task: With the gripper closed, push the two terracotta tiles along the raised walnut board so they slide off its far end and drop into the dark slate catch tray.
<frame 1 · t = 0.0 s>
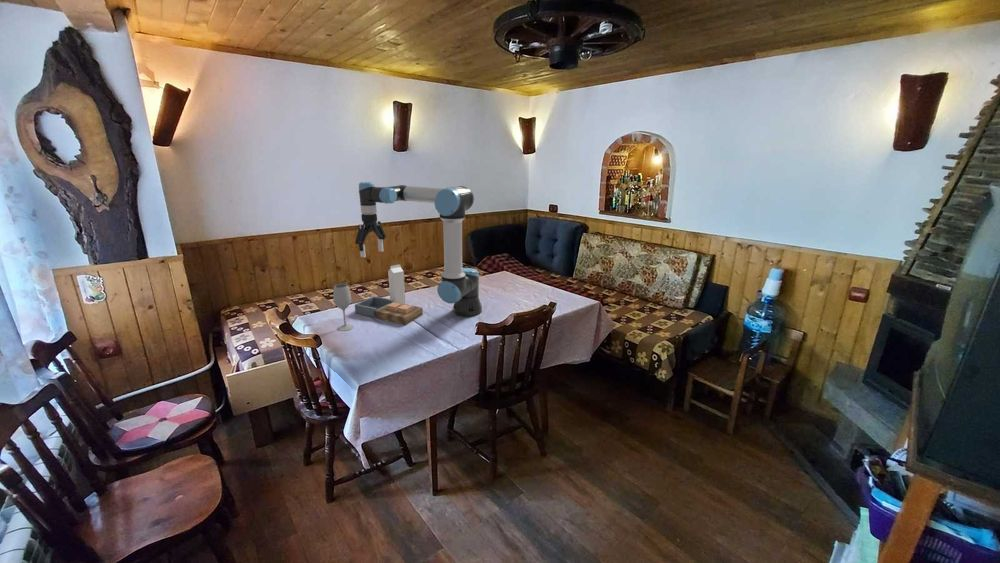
hand: (372, 254, 206), 28 cm above the table, fingers open, 13 cm apart
board: (399, 316, 198), on the table
catch tray: (374, 311, 204), on the table
tile 2: (405, 310, 196), point 4 cm above the table, touching board
milk: (398, 303, 215), on the table
tile 1: (394, 308, 198), point 4 cm above the table, touching board
wineglass: (345, 328, 185), on the table
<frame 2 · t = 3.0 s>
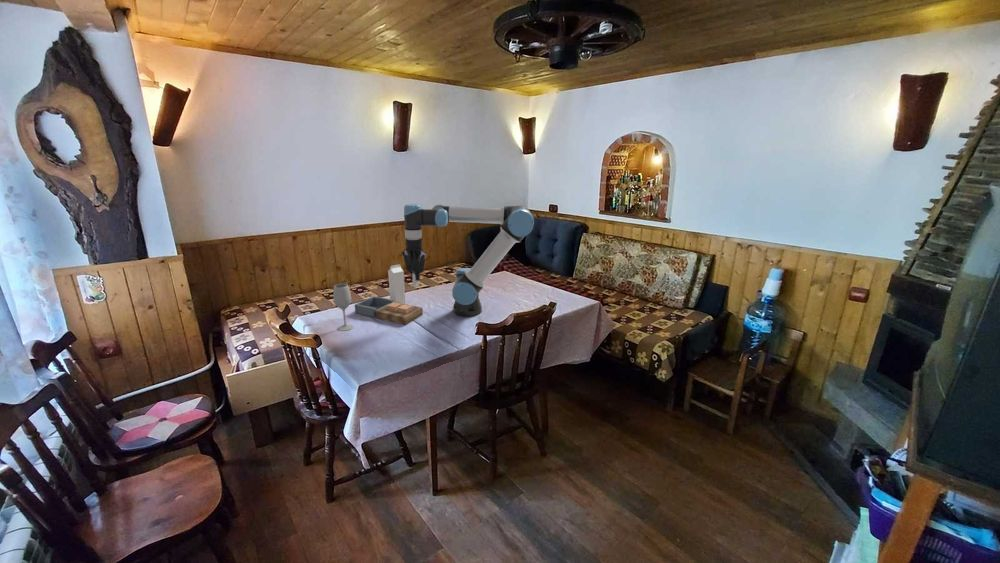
hand: (415, 286, 189), 18 cm above the table, fingers closed
nothing on the table moved.
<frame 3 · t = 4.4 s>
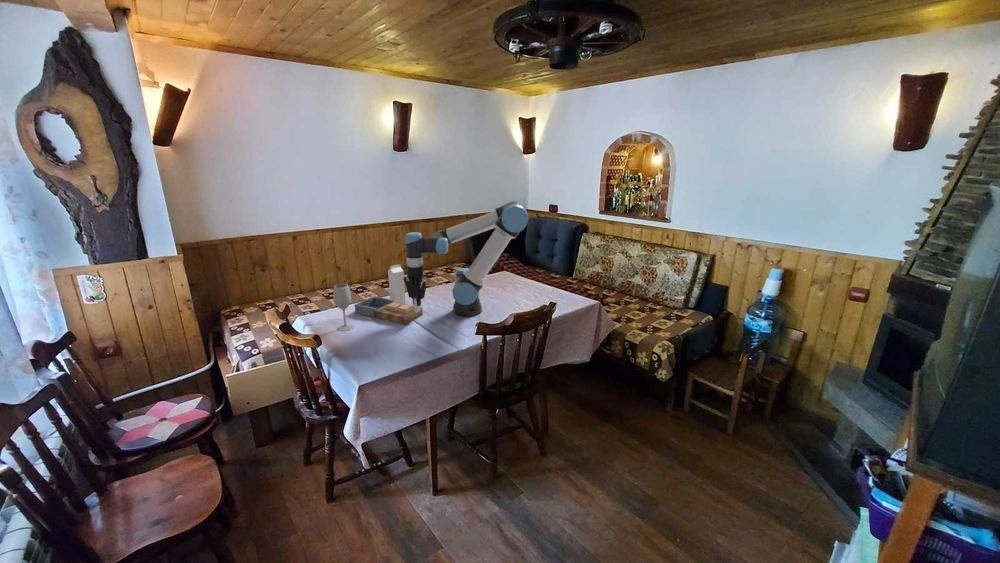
hand: (417, 311, 193), 5 cm above the table, fingers closed
nothing on the table moved.
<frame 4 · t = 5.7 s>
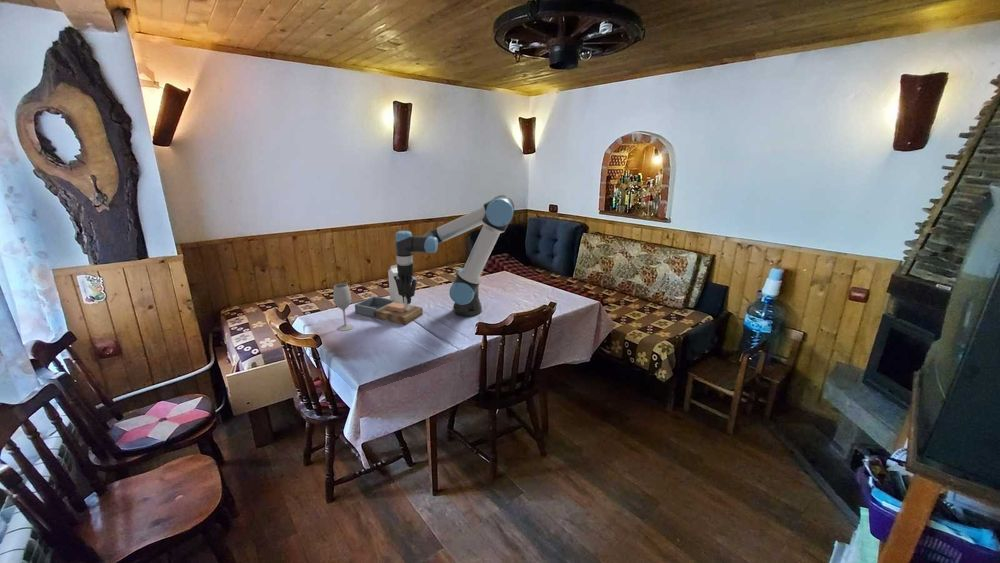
hand: (407, 309, 195), 5 cm above the table, fingers closed
tile 2: (402, 309, 196), point 4 cm above the table, touching gripper, tile 1
tile 1: (394, 308, 198), point 4 cm above the table, touching tile 2
everything else where it was.
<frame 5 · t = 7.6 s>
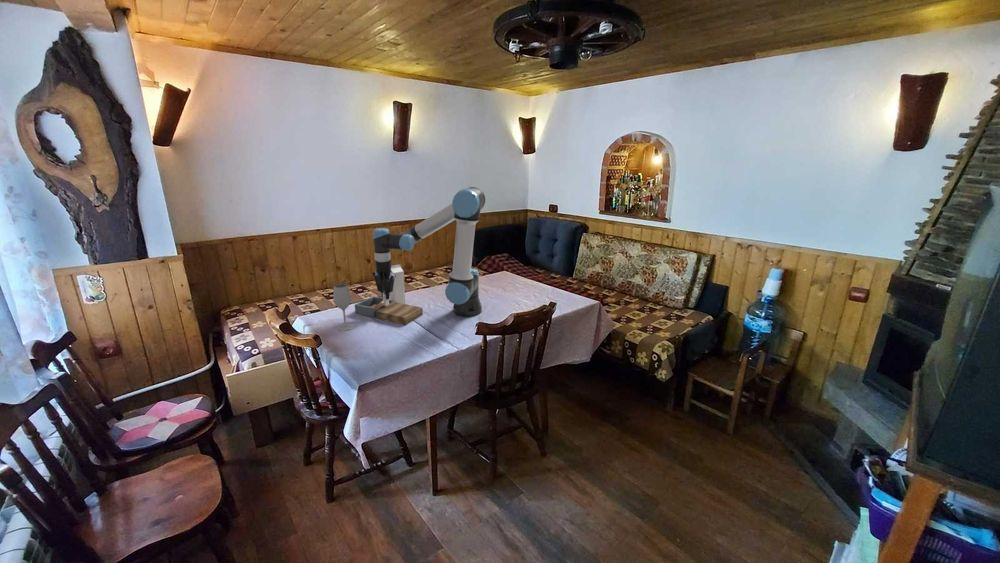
hand: (386, 304, 200), 5 cm above the table, fingers closed
tile 2: (382, 306, 201), point 4 cm above the table, tilted 43°, touching gripper, tile 1
tile 1: (375, 306, 204), point 3 cm above the table, tilted 180°, touching catch tray, tile 2
everything else where it was.
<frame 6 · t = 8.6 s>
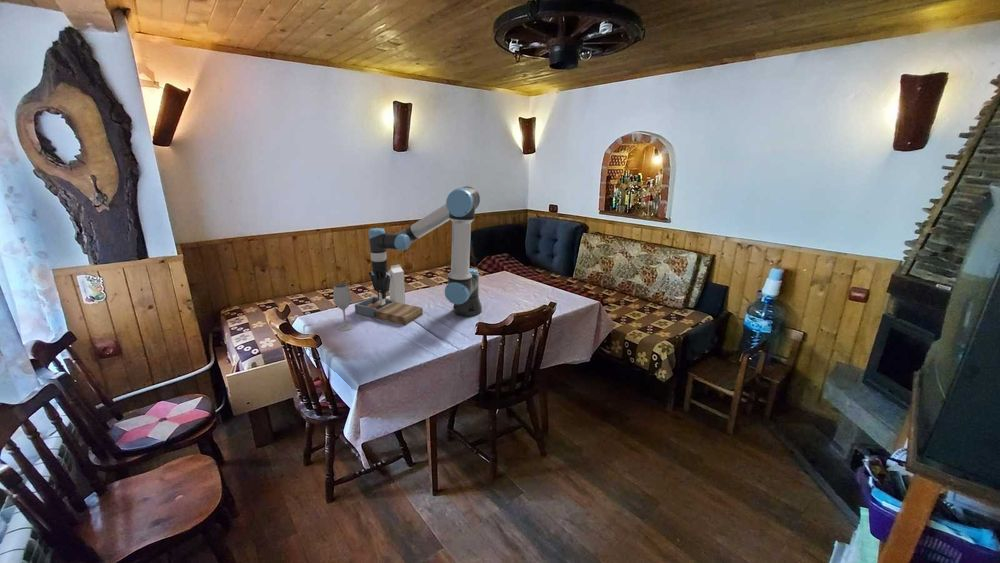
hand: (382, 304, 201), 5 cm above the table, fingers closed
tile 2: (378, 306, 202), point 3 cm above the table, tilted 40°, touching gripper, tile 1
tile 1: (371, 305, 205), point 3 cm above the table, tilted 180°, touching catch tray, tile 2
everything else where it was.
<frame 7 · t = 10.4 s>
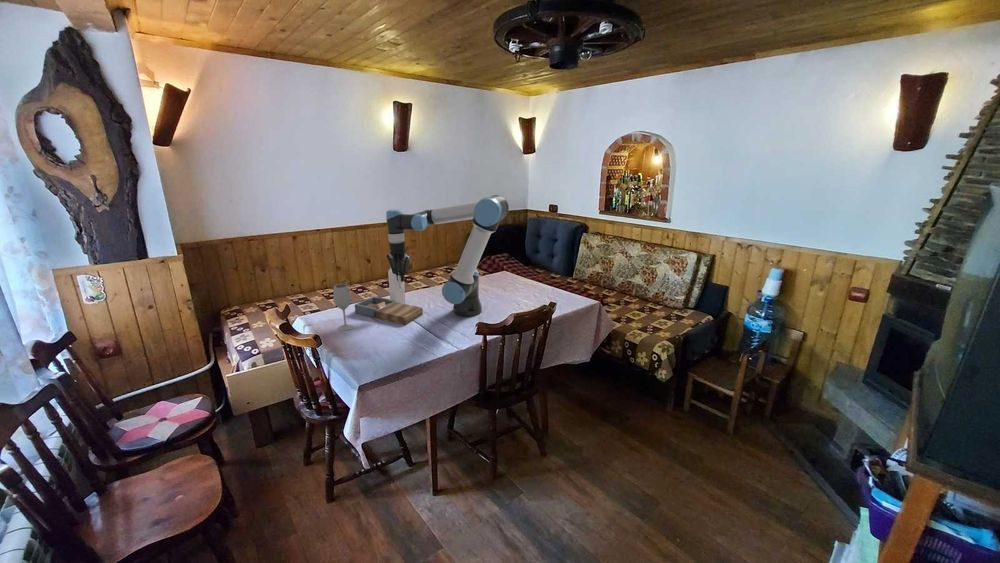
hand: (401, 287, 199), 14 cm above the table, fingers closed
tile 2: (379, 307, 202), point 3 cm above the table, tilted 23°, touching catch tray, tile 1
everything else where it was.
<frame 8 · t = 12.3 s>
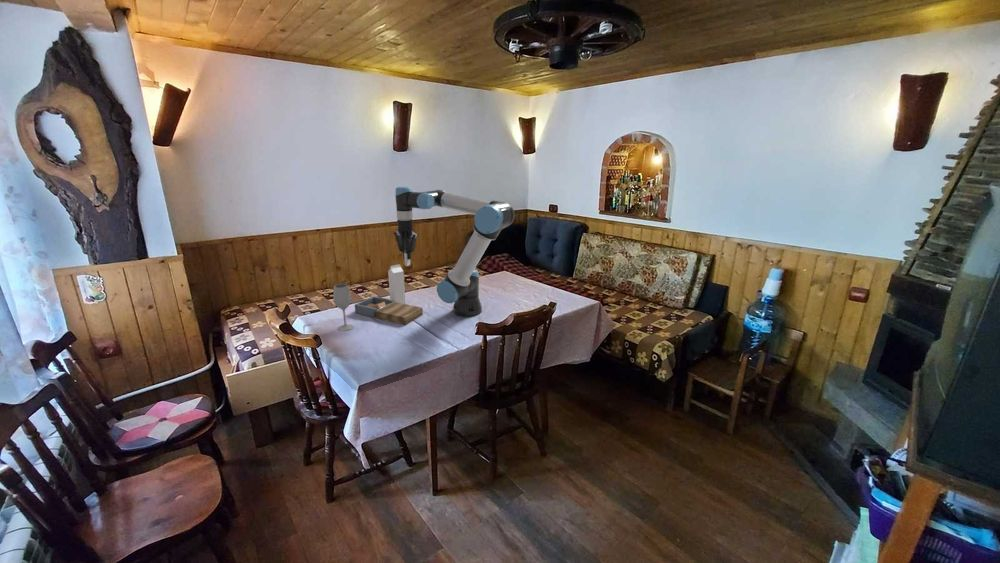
hand: (407, 265, 200), 24 cm above the table, fingers closed
nothing on the table moved.
at the end: tile 1 inside the target area on the catch tray (1.7 cm from its centre), point 2.6 cm above the catch tray's base; tile 2 inside the target area on the catch tray (3.6 cm from its centre), point 2.6 cm above the catch tray's base; tile 2 touching catch tray, tile 1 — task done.
